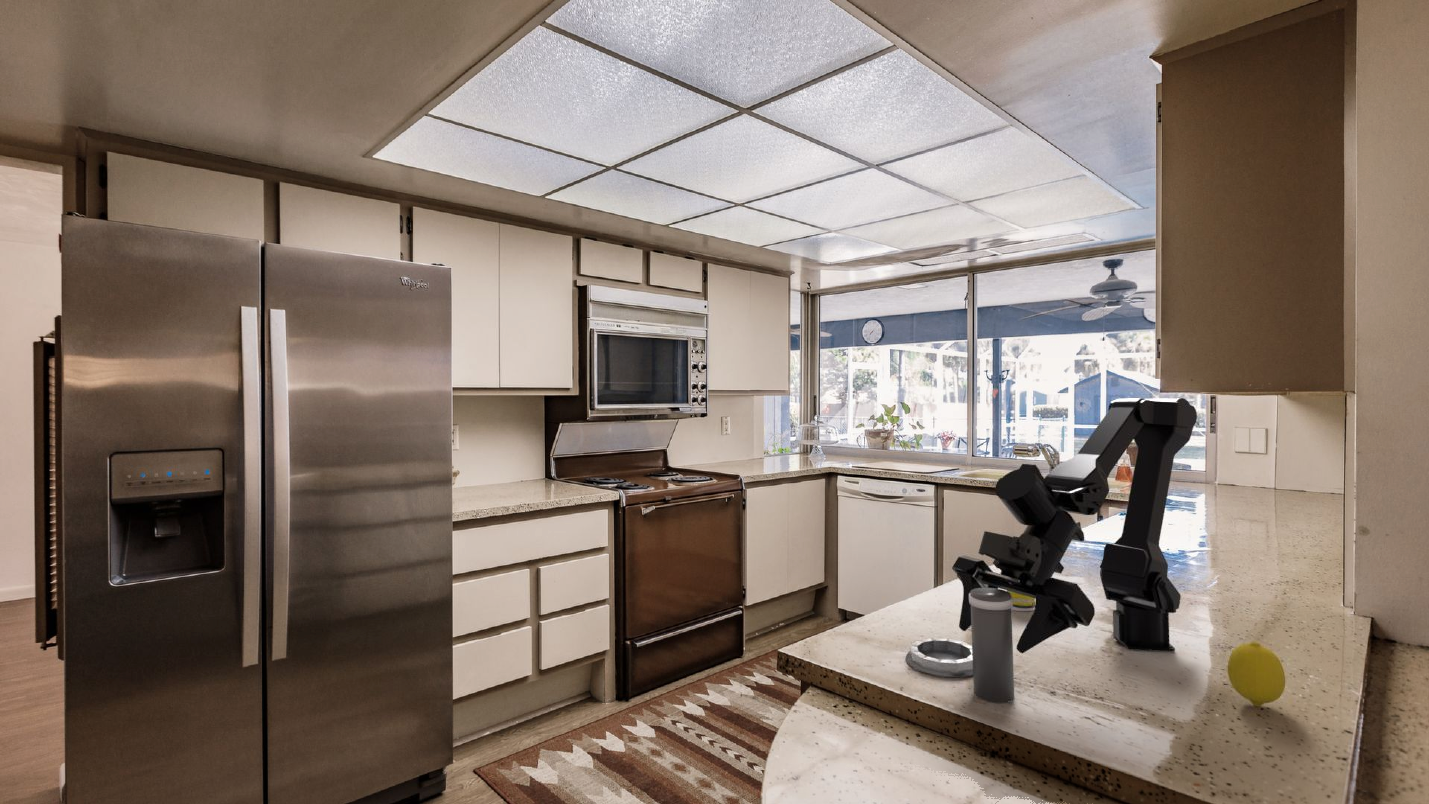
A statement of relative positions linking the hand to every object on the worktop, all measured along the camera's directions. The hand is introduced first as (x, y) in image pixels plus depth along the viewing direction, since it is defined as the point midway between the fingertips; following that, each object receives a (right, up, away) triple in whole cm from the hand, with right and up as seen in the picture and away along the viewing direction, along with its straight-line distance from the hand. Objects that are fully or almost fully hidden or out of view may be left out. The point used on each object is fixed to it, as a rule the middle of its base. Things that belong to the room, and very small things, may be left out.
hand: (989, 639), depth 87 cm
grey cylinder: (+1, -7, 0) cm, 7 cm away
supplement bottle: (+20, -7, +34) cm, 40 cm away
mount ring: (-2, -7, +11) cm, 14 cm away
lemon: (+31, -7, -5) cm, 32 cm away
